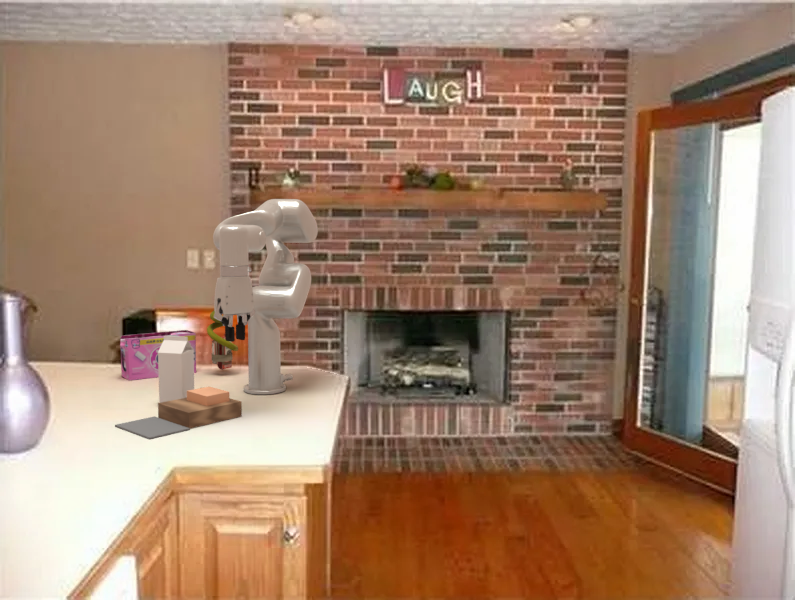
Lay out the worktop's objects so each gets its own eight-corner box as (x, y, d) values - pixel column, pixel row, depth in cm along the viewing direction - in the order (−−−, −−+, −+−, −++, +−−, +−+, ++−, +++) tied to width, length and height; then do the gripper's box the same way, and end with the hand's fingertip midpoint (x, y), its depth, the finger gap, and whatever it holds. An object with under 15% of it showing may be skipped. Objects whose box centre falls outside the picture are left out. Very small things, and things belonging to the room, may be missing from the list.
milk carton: (182, 407, 210) (181, 339, 208) (159, 405, 212) (157, 337, 210) (194, 401, 217) (193, 335, 215) (171, 399, 219) (170, 334, 217)
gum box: (124, 381, 242) (123, 339, 240) (116, 377, 248) (115, 335, 246) (197, 372, 256) (196, 332, 255) (187, 368, 262) (186, 329, 261)
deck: (210, 407, 211) (210, 392, 211) (241, 416, 202) (241, 401, 201) (158, 418, 199) (158, 403, 199) (189, 428, 190) (188, 412, 189)
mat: (154, 417, 199) (154, 416, 199) (189, 429, 189) (189, 428, 189) (115, 426, 191) (114, 424, 191) (149, 439, 181) (149, 437, 181)
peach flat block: (209, 395, 207) (209, 386, 207) (229, 401, 202) (229, 391, 201) (186, 400, 202) (186, 390, 202) (206, 405, 196) (206, 396, 196)
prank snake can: (237, 376, 250) (236, 300, 247) (205, 377, 249) (204, 300, 246) (240, 369, 261) (239, 296, 258) (210, 370, 260) (209, 296, 257)
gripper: (250, 270, 213) (250, 335, 215) (200, 273, 201) (201, 342, 203) (267, 271, 208) (267, 338, 211) (217, 274, 196) (218, 345, 198)
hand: (235, 339), depth 207 cm, fingers closed
